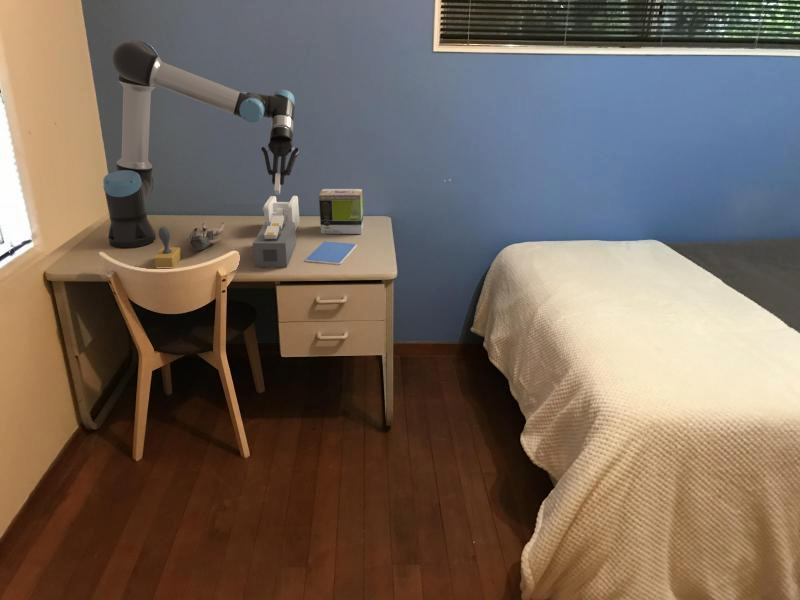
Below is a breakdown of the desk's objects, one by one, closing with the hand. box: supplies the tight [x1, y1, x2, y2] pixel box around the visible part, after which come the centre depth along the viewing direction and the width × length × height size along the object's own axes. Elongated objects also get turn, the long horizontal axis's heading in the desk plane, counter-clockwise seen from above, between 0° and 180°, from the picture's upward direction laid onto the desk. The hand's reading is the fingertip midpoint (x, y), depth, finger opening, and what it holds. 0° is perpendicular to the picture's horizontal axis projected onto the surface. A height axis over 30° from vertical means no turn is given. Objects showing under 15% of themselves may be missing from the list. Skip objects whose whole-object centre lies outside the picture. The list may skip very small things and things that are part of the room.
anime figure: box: [189, 221, 226, 251], centre depth 212 cm, size 10×7×30 cm
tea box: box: [318, 188, 364, 235], centre depth 224 cm, size 15×10×15 cm, turn 89°
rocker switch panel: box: [252, 221, 297, 268], centre depth 200 cm, size 10×22×8 cm, turn 1°
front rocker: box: [264, 226, 279, 239], centre depth 194 cm, size 4×6×2 cm, turn 1°
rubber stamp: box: [153, 226, 183, 268], centre depth 193 cm, size 10×6×12 cm, turn 4°
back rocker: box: [270, 216, 284, 230], centre depth 203 cm, size 4×6×2 cm, turn 1°
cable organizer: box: [262, 195, 300, 232], centre depth 225 cm, size 15×11×12 cm
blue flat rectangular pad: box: [303, 240, 358, 266], centre depth 205 cm, size 19×13×1 cm, turn 167°
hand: (277, 192), depth 206 cm, fingers closed
